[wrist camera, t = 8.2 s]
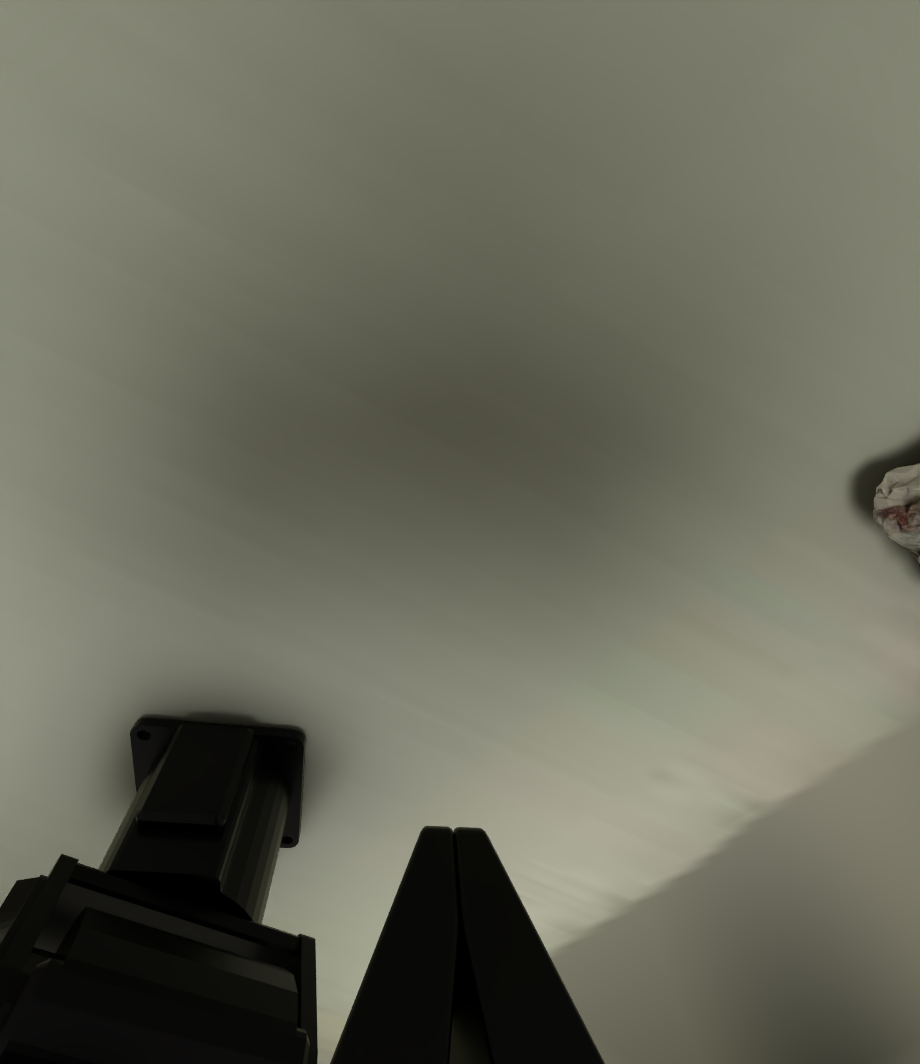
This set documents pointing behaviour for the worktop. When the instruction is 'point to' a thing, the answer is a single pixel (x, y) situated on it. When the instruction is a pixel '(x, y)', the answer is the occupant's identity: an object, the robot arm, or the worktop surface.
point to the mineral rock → (900, 507)
